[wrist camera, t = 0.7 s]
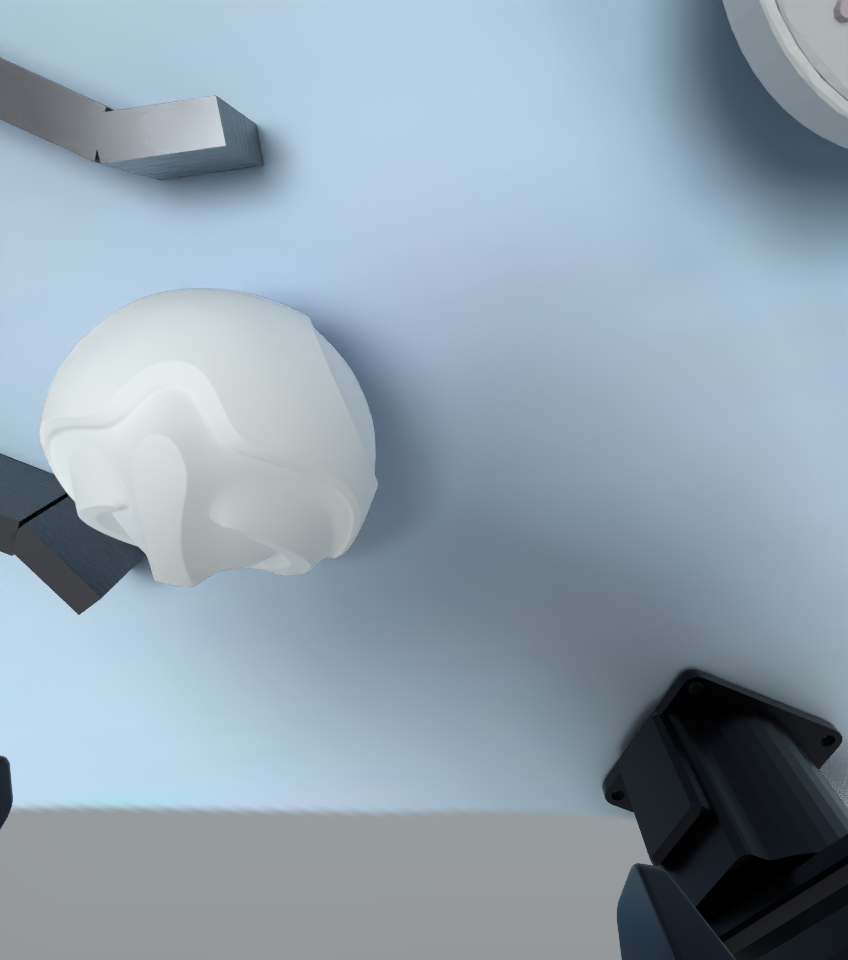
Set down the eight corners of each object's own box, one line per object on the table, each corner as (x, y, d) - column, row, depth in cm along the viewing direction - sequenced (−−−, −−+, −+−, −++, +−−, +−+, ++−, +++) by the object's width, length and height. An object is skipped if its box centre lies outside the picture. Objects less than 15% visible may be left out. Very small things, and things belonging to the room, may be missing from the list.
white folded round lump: (138, 495, 20) (-34, 628, 13) (144, 258, 18) (-68, 257, 10) (374, 538, 20) (334, 692, 13) (413, 311, 18) (390, 345, 11)
